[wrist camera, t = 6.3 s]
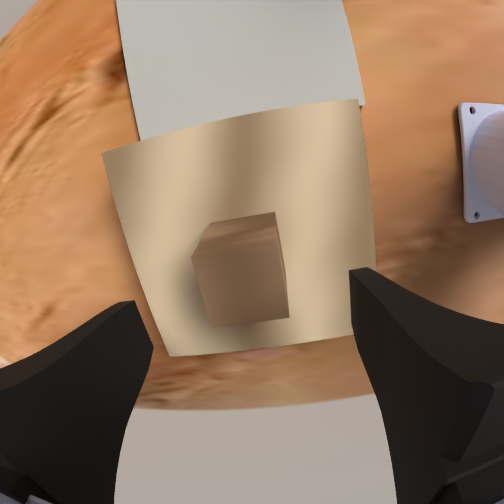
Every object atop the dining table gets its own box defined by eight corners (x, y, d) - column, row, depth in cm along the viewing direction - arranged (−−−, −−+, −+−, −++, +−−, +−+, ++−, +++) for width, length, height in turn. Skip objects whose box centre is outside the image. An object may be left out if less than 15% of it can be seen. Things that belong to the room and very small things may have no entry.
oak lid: (352, 99, 13) (389, 90, 9) (371, 319, 18) (397, 378, 13) (110, 151, 15) (53, 166, 10) (174, 346, 19) (151, 405, 14)
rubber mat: (314, -72, 12) (315, -76, 11) (363, 105, 16) (365, 105, 16) (115, -28, 13) (112, -31, 13) (144, 145, 18) (141, 146, 17)
